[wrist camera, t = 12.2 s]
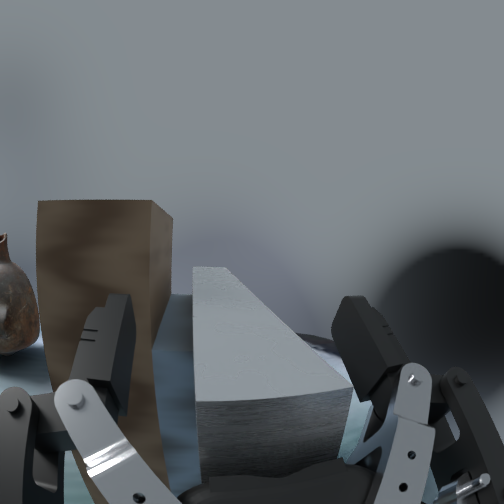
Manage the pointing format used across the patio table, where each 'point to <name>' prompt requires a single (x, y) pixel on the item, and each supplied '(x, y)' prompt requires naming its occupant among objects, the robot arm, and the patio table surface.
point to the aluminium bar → (258, 386)
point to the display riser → (146, 317)
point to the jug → (16, 306)
